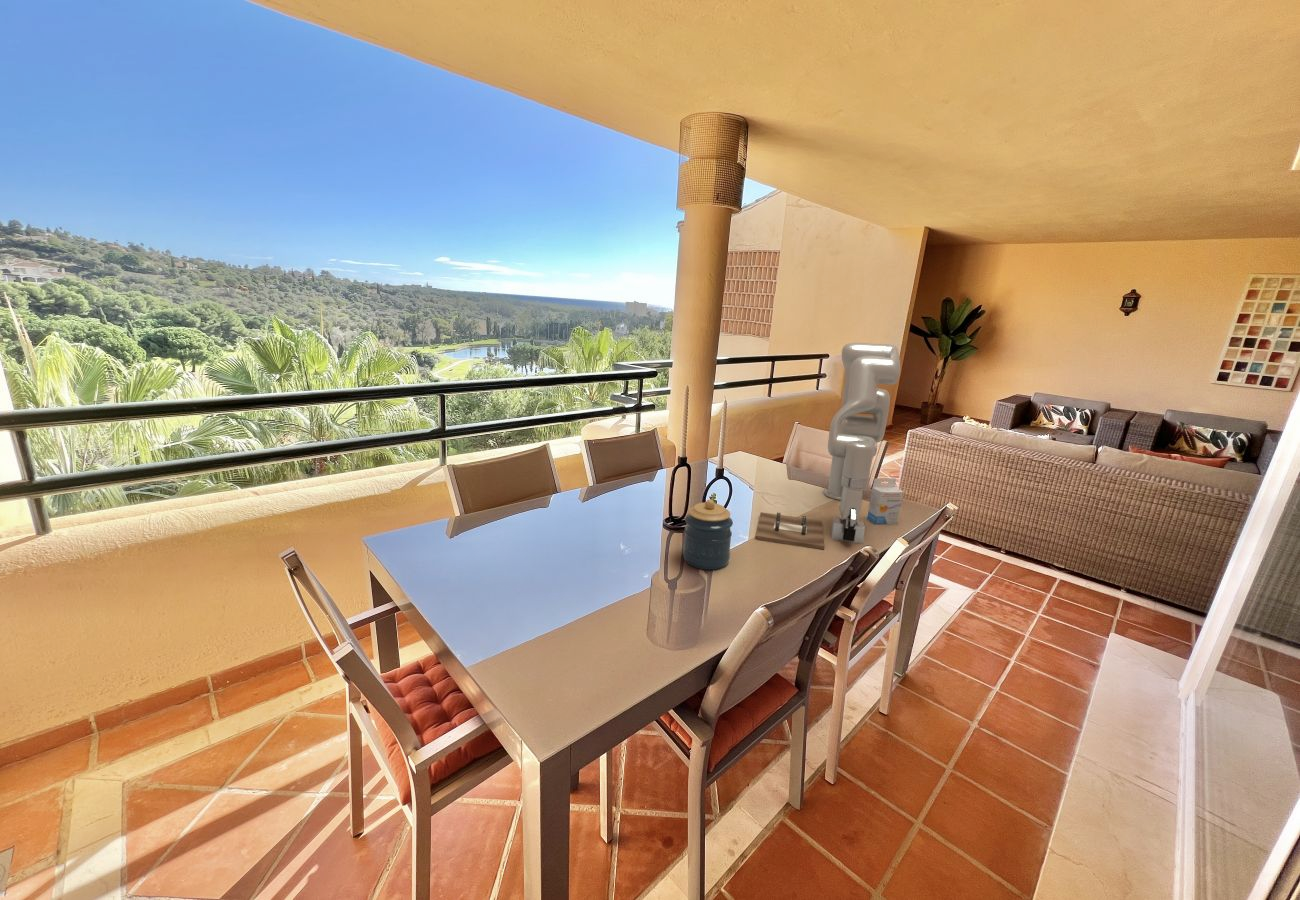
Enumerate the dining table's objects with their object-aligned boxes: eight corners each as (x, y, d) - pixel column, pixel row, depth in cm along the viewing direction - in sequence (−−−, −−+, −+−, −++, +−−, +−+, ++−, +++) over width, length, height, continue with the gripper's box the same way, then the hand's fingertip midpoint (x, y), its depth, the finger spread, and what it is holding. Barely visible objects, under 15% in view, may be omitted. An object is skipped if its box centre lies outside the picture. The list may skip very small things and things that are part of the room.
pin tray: (760, 515, 171) (761, 503, 170) (821, 523, 166) (823, 512, 165) (755, 539, 153) (756, 526, 152) (824, 549, 148) (825, 536, 146)
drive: (830, 533, 159) (833, 517, 158) (860, 538, 157) (863, 521, 155) (831, 539, 155) (833, 522, 154) (862, 543, 153) (865, 527, 151)
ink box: (874, 524, 167) (881, 482, 163) (866, 518, 172) (873, 478, 168) (898, 524, 168) (905, 482, 164) (889, 518, 173) (896, 477, 169)
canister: (728, 573, 132) (733, 511, 127) (679, 567, 134) (683, 506, 130) (730, 551, 144) (735, 494, 140) (685, 546, 147) (689, 489, 142)
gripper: (839, 472, 160) (832, 521, 165) (843, 489, 144) (835, 543, 148) (864, 474, 158) (856, 524, 163) (871, 492, 142) (863, 547, 147)
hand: (846, 533), depth 156 cm, fingers open, 9 cm apart
